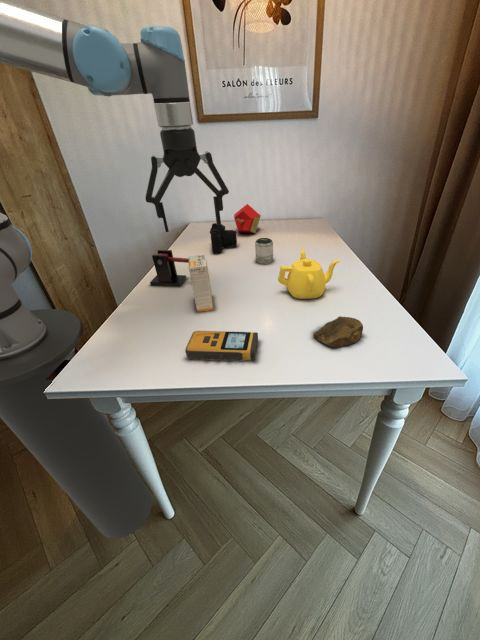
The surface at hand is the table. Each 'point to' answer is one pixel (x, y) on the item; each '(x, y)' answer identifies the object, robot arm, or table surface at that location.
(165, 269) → the lever bracket
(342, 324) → the decorative stone
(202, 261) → the supplement box
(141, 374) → the table surface
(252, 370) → the table surface
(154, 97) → the robot arm
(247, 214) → the red pentagonal block
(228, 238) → the film camera
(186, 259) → the lever switch
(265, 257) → the glass jar
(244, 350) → the electronic device
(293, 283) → the teapot
